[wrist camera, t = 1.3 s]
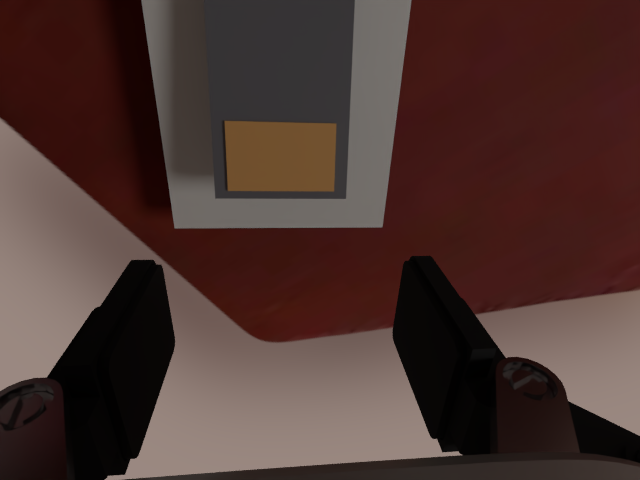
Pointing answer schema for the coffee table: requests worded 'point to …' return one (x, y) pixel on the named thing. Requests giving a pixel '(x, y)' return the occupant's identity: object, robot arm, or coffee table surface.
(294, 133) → the rocker switch
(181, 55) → the switch box
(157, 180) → the coffee table surface
